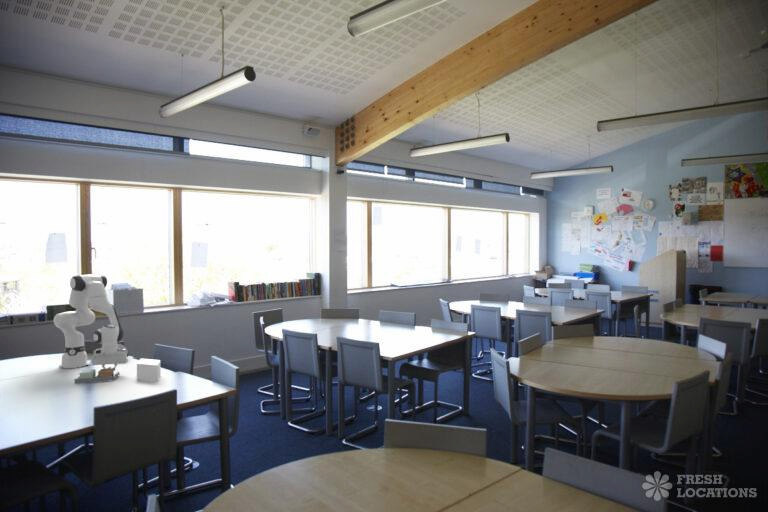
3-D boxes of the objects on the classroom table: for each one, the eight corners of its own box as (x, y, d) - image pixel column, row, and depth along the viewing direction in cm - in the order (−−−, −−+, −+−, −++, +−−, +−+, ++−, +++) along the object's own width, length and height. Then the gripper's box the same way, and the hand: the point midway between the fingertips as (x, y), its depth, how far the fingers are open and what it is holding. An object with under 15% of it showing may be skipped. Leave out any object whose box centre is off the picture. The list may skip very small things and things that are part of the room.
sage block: (82, 379, 299) (82, 370, 299) (95, 378, 301) (95, 369, 301) (79, 382, 291) (79, 373, 291) (92, 381, 294) (92, 372, 294)
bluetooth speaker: (111, 356, 365) (111, 343, 365) (125, 355, 370) (125, 342, 370) (115, 362, 346) (115, 348, 346) (129, 360, 352) (129, 347, 352)
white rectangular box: (145, 384, 289) (145, 367, 289) (128, 375, 309) (128, 360, 309) (169, 379, 300) (169, 363, 300) (152, 371, 320) (152, 356, 320)
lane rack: (81, 377, 303) (81, 373, 303) (119, 374, 310) (119, 371, 310) (74, 383, 289) (74, 379, 289) (114, 380, 296) (114, 376, 296)
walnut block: (103, 375, 308) (103, 366, 308) (116, 374, 311) (116, 365, 311) (98, 381, 294) (98, 371, 294) (110, 380, 296) (110, 371, 296)
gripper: (128, 347, 315) (128, 368, 315) (93, 349, 308) (93, 370, 308) (126, 349, 309) (126, 370, 309) (90, 351, 302) (90, 373, 302)
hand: (109, 370), depth 308 cm, fingers open, 3 cm apart
